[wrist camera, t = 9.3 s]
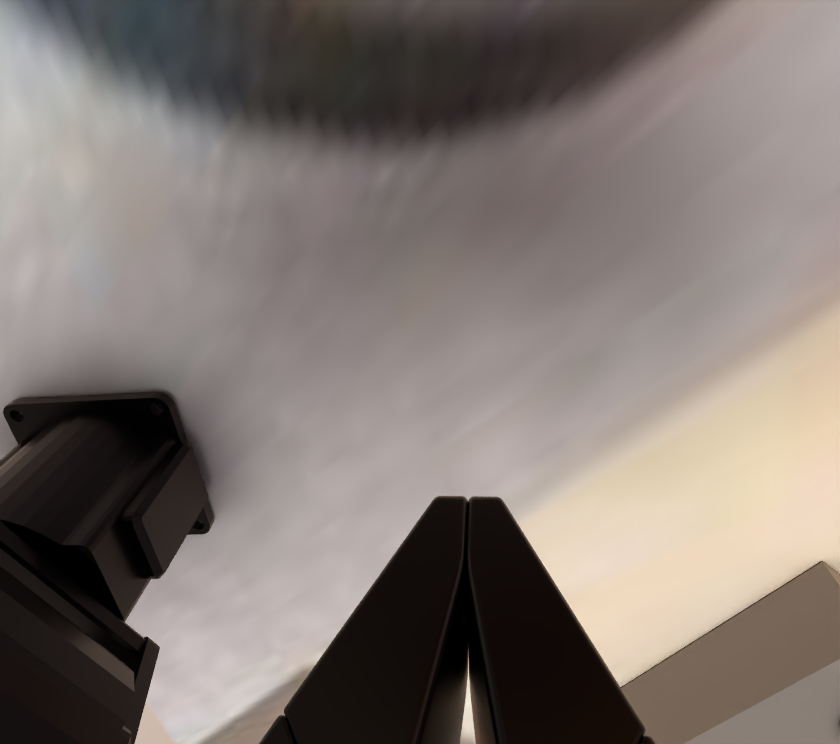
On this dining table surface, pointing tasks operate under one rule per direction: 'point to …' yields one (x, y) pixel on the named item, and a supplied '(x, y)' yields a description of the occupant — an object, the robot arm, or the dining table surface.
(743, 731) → the switch panel
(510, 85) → the dining table surface
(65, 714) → the robot arm
